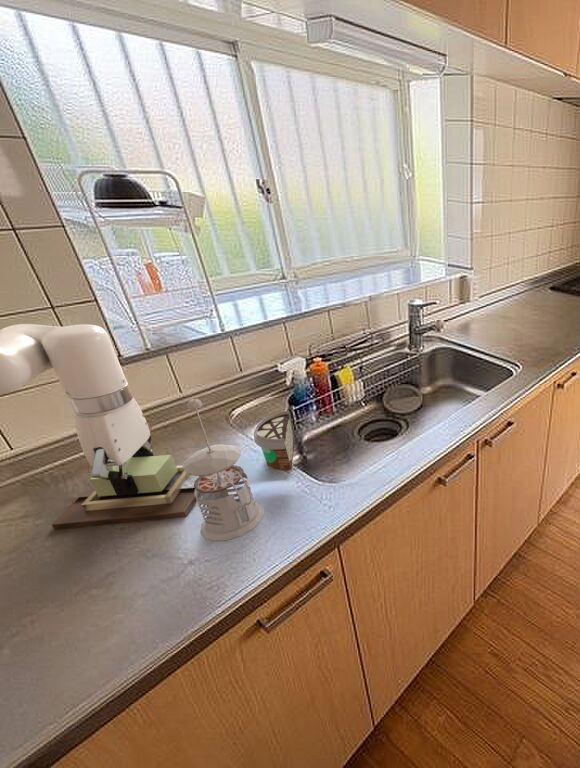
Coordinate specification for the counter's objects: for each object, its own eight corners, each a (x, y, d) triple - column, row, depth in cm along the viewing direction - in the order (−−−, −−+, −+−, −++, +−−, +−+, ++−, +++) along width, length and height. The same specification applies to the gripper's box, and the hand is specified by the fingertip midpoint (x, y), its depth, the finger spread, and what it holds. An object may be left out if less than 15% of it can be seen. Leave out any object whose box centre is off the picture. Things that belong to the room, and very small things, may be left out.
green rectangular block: (98, 496, 75) (89, 479, 74) (118, 475, 81) (110, 458, 79) (161, 491, 78) (154, 474, 76) (177, 471, 83) (171, 454, 81)
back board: (54, 529, 72) (47, 518, 71) (109, 473, 85) (104, 463, 84) (186, 516, 76) (181, 505, 75) (219, 465, 89) (216, 455, 88)
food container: (266, 450, 94) (256, 412, 90) (297, 446, 96) (288, 409, 92) (258, 486, 84) (247, 445, 79) (292, 480, 86) (283, 440, 82)
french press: (242, 493, 82) (207, 379, 70) (282, 516, 77) (251, 398, 66) (188, 526, 74) (138, 404, 63) (229, 553, 69) (183, 427, 58)
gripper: (108, 376, 77) (141, 455, 86) (35, 427, 62) (83, 517, 71) (155, 375, 79) (183, 452, 87) (94, 424, 64) (135, 512, 72)
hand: (138, 480), depth 79 cm, fingers closed on green rectangular block, 6 cm apart
